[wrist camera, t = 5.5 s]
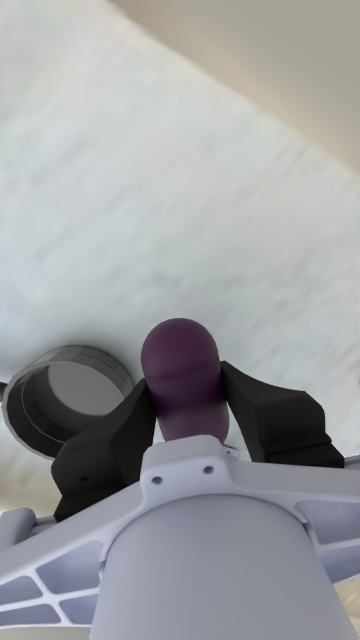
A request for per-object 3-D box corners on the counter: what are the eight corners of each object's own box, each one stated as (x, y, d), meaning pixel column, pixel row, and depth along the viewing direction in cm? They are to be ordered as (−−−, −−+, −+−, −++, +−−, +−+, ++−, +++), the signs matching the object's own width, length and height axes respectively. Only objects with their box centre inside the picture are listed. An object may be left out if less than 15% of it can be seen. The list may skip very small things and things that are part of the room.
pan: (149, 364, 24) (144, 383, 20) (119, 444, 27) (110, 474, 23) (39, 329, 22) (11, 342, 18) (22, 419, 25) (-6, 447, 21)
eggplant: (139, 318, 15) (122, 344, 10) (204, 304, 14) (220, 323, 10) (174, 444, 18) (174, 510, 13) (227, 433, 18) (248, 496, 13)
